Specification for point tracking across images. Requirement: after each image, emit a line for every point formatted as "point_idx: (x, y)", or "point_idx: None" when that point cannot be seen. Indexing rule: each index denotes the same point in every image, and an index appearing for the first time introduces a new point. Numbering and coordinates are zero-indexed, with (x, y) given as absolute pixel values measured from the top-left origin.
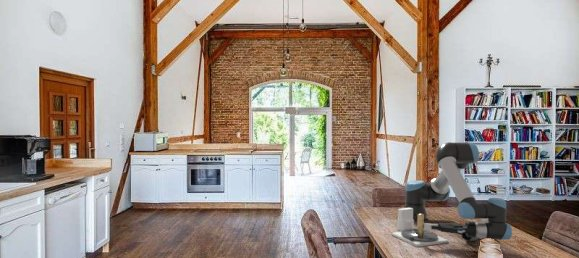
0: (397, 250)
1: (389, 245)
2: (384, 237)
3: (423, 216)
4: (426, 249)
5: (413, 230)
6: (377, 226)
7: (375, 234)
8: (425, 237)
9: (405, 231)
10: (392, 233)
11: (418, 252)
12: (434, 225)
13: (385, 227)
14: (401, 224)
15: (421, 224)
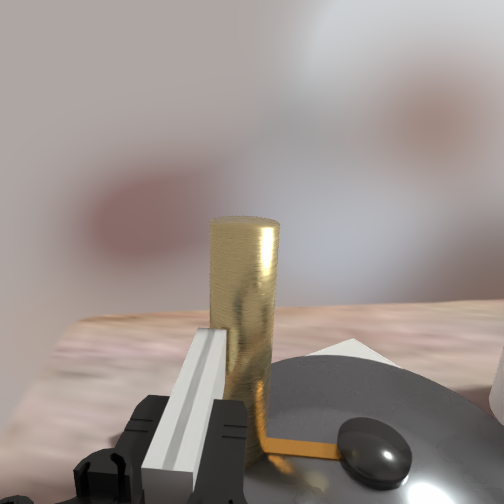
0: (87, 344)
1: (168, 329)
2: (292, 326)
3: (221, 247)
4: (45, 497)
5: (460, 428)
6: (471, 321)
7: (324, 308)
8: (263, 494)
9: (380, 375)
10: (346, 341)
11: (6, 425)
12: (163, 426)
13: (488, 342)
14: (501, 356)
15: (210, 323)
